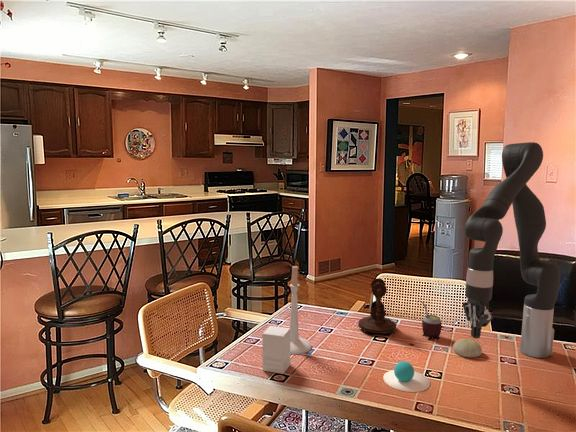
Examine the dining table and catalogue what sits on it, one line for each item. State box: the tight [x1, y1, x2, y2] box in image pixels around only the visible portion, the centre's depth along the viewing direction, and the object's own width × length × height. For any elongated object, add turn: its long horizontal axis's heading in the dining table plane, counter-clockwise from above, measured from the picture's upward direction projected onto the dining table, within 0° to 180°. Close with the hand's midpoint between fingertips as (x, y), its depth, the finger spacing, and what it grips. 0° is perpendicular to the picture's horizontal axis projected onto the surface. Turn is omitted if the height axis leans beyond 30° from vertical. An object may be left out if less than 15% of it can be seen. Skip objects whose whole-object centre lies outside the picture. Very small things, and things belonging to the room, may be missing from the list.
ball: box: [393, 360, 415, 382], centre depth 143 cm, size 6×6×6 cm
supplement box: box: [262, 325, 291, 375], centre depth 150 cm, size 7×7×13 cm
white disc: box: [383, 369, 431, 393], centre depth 143 cm, size 14×14×1 cm
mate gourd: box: [419, 300, 443, 341], centre depth 176 cm, size 8×8×15 cm
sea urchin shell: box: [452, 338, 483, 358], centre depth 163 cm, size 9×8×8 cm
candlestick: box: [289, 265, 312, 355], centre depth 165 cm, size 13×13×30 cm
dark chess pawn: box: [357, 277, 397, 336], centre depth 183 cm, size 15×15×20 cm
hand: (475, 337), depth 143 cm, fingers closed
